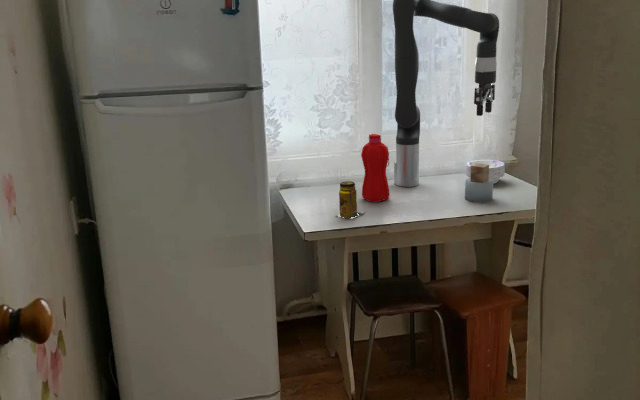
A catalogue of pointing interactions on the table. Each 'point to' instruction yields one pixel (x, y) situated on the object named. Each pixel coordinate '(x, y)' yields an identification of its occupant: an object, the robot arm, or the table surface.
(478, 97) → the robot arm
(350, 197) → the condiment
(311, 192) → the table surface
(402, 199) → the table surface
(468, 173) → the paper bowls
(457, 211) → the table surface
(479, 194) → the slate canister
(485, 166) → the walnut block
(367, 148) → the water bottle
